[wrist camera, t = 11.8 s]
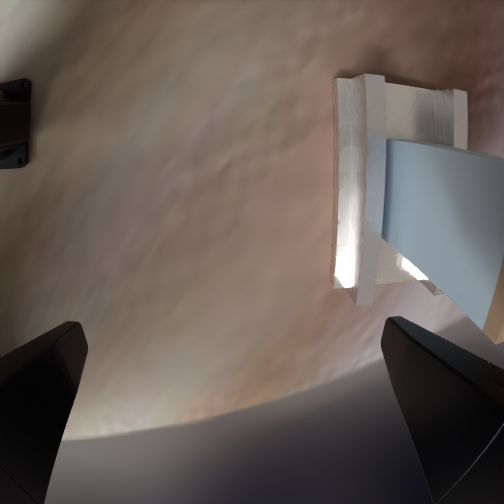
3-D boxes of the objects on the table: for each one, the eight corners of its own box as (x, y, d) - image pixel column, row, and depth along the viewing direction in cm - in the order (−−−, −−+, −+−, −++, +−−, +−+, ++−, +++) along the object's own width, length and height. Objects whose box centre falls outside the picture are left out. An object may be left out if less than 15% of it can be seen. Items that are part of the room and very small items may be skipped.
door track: (330, 282, 23) (344, 307, 20) (332, 80, 18) (351, 72, 15) (432, 271, 23) (454, 291, 20) (445, 94, 18) (475, 94, 15)
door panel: (378, 235, 21) (495, 344, 9) (382, 138, 18) (536, 172, 7) (414, 233, 21) (536, 329, 9) (420, 141, 19) (573, 179, 7)
